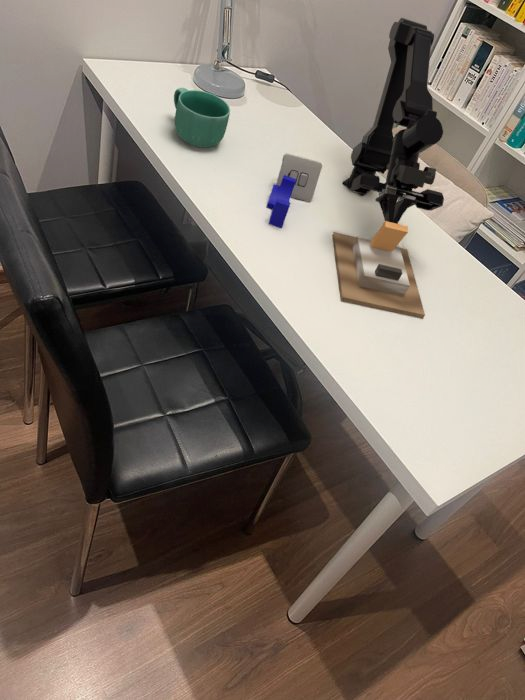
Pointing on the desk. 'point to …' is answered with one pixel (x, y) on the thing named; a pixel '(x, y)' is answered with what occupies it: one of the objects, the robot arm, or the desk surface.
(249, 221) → the desk surface
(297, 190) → the electrical switch
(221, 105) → the mug
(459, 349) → the desk surface
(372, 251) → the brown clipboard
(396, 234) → the orange wedge plank
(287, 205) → the cable clip
